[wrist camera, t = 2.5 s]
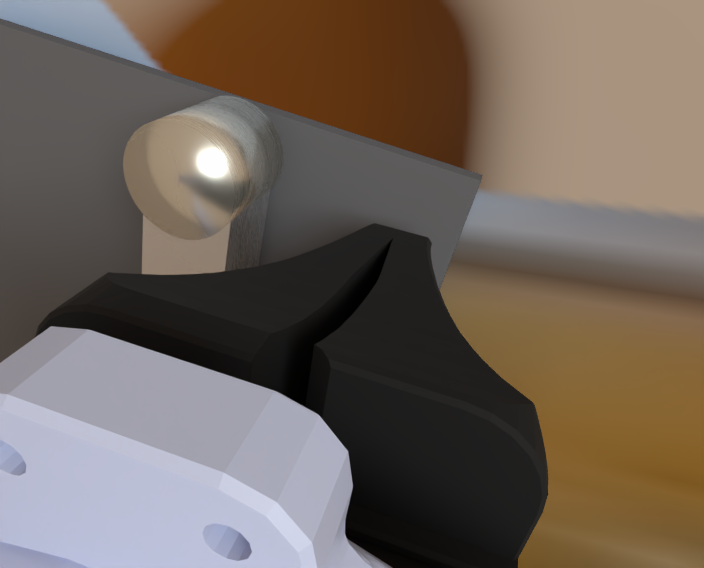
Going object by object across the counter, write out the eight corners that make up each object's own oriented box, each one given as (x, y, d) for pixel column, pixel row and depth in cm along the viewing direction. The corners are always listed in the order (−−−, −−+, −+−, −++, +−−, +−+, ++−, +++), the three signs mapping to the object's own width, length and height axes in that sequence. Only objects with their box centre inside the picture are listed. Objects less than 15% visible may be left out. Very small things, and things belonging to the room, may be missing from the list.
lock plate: (332, 568, 21) (328, 580, 20) (-9, 421, 22) (-20, 429, 22) (482, 175, 12) (480, 182, 12) (-91, -11, 14) (-110, -10, 13)
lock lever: (241, 510, 19) (207, 572, 17) (150, 471, 20) (106, 528, 18) (317, 122, 12) (271, 153, 10) (167, 74, 12) (94, 93, 10)
